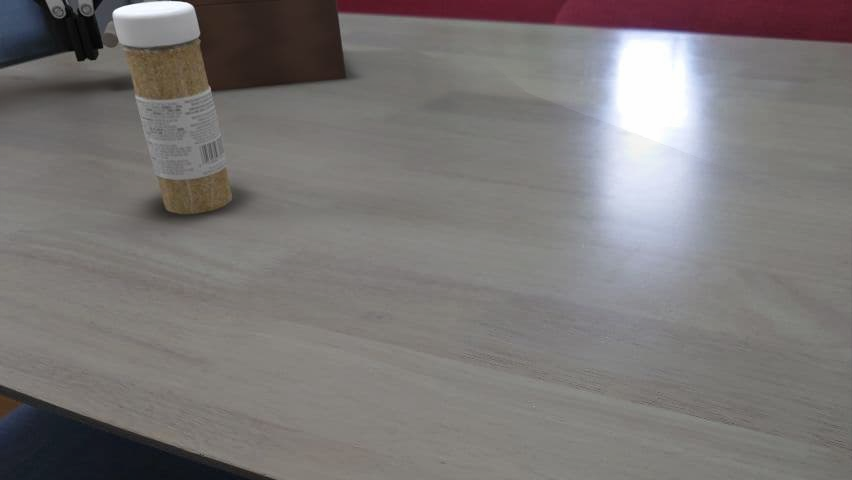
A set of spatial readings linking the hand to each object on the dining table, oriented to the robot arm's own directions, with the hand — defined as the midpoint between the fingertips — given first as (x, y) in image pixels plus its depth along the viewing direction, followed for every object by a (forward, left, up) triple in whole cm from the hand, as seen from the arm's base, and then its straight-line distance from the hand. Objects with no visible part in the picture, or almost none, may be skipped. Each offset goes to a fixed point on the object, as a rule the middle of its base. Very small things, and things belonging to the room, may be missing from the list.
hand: (88, 57), depth 79 cm
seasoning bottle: (0, -36, -4) cm, 37 cm away
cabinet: (+16, -4, -4) cm, 17 cm away
